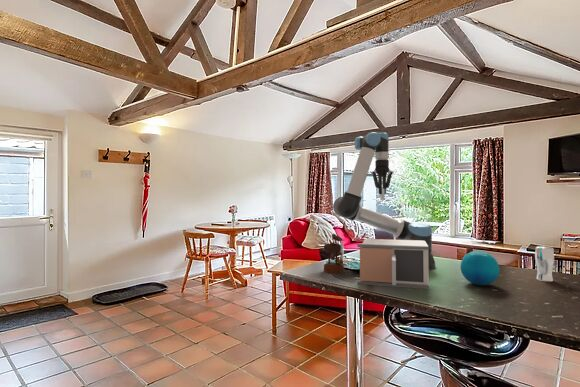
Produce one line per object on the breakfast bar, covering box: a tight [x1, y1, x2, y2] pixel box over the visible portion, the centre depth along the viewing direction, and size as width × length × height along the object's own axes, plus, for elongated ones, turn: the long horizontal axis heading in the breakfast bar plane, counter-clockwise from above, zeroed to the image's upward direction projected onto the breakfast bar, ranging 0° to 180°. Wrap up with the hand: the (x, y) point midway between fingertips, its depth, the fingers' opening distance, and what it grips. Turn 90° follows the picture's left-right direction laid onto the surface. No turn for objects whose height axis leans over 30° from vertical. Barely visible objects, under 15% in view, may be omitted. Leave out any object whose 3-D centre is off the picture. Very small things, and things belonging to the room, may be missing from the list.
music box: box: [318, 233, 345, 275], centre depth 176 cm, size 15×11×20 cm
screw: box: [339, 241, 347, 263], centre depth 193 cm, size 13×5×5 cm
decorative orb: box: [460, 250, 500, 287], centre depth 148 cm, size 15×15×15 cm
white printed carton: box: [534, 245, 555, 283], centre depth 154 cm, size 7×7×15 cm
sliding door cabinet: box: [356, 238, 430, 290], centre depth 156 cm, size 30×18×18 cm, turn 73°
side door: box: [359, 247, 396, 285], centre depth 144 cm, size 16×14×15 cm
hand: (382, 199), depth 196 cm, fingers closed
